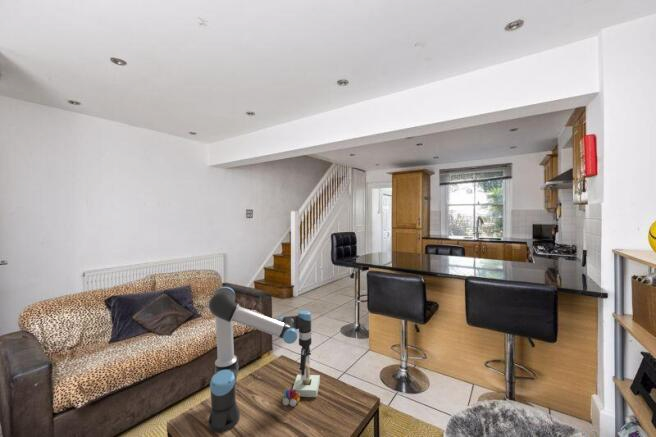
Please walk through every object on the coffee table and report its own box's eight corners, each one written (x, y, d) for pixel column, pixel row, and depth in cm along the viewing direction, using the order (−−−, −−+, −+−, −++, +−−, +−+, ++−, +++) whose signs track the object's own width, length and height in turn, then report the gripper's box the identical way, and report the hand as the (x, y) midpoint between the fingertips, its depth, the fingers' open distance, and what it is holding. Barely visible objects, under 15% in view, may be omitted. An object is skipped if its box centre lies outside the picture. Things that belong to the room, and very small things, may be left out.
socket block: (292, 396, 158) (292, 389, 158) (297, 380, 172) (297, 374, 171) (316, 397, 156) (316, 390, 156) (319, 381, 170) (319, 375, 170)
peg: (302, 389, 162) (302, 366, 162) (304, 385, 166) (303, 362, 166) (309, 390, 162) (308, 367, 161) (310, 385, 166) (309, 363, 165)
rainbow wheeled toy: (297, 408, 148) (296, 395, 148) (280, 406, 150) (279, 393, 150) (301, 397, 156) (301, 385, 156) (285, 395, 158) (285, 383, 158)
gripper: (307, 348, 150) (308, 386, 151) (314, 328, 175) (314, 361, 175) (294, 348, 150) (294, 385, 151) (302, 328, 175) (303, 360, 176)
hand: (305, 372), depth 163 cm, fingers open, 13 cm apart
